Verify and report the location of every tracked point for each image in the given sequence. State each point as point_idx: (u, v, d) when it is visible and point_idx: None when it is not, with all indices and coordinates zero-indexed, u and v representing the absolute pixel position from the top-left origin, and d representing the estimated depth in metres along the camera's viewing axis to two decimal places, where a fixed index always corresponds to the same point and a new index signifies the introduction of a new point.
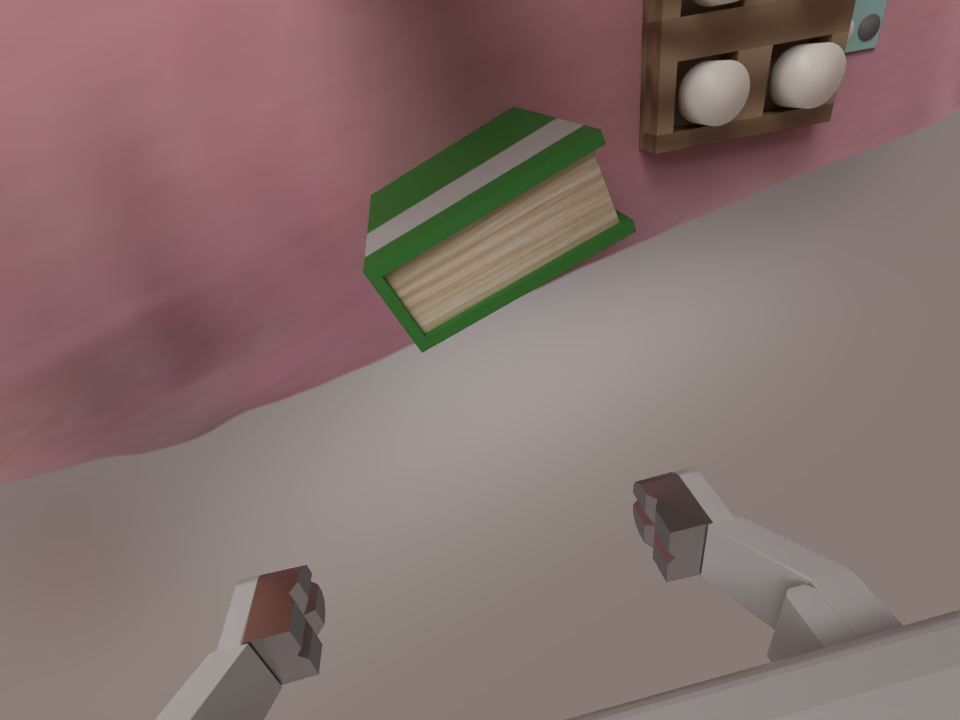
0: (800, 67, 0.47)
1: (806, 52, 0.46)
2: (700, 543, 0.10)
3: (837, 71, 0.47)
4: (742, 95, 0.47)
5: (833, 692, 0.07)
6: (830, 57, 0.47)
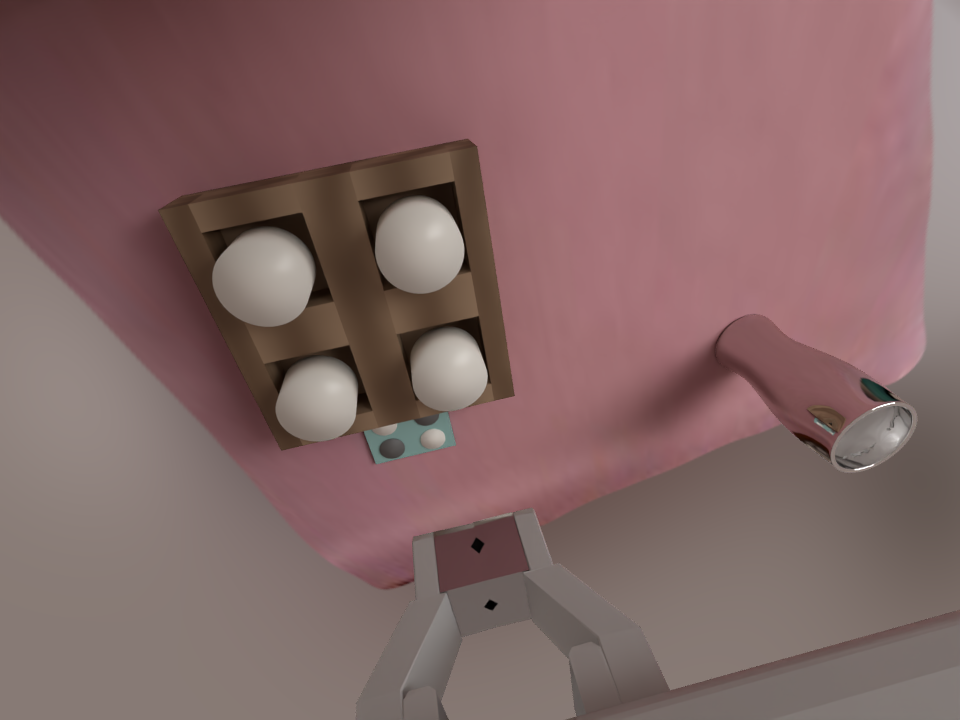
0: (321, 384, 0.34)
1: (339, 385, 0.34)
2: (521, 590, 0.10)
3: (327, 431, 0.36)
4: (268, 317, 0.31)
5: (833, 692, 0.07)
6: (340, 416, 0.36)
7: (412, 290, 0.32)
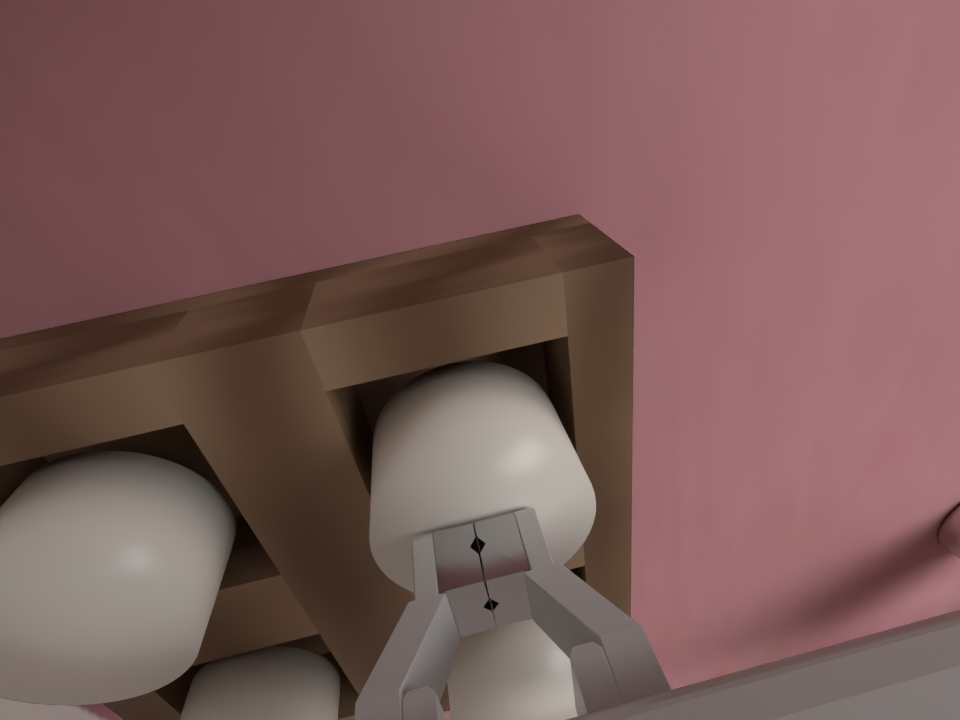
0: None
1: None
2: (522, 589, 0.10)
3: None
4: (100, 690, 0.12)
5: (833, 692, 0.07)
6: None
7: None
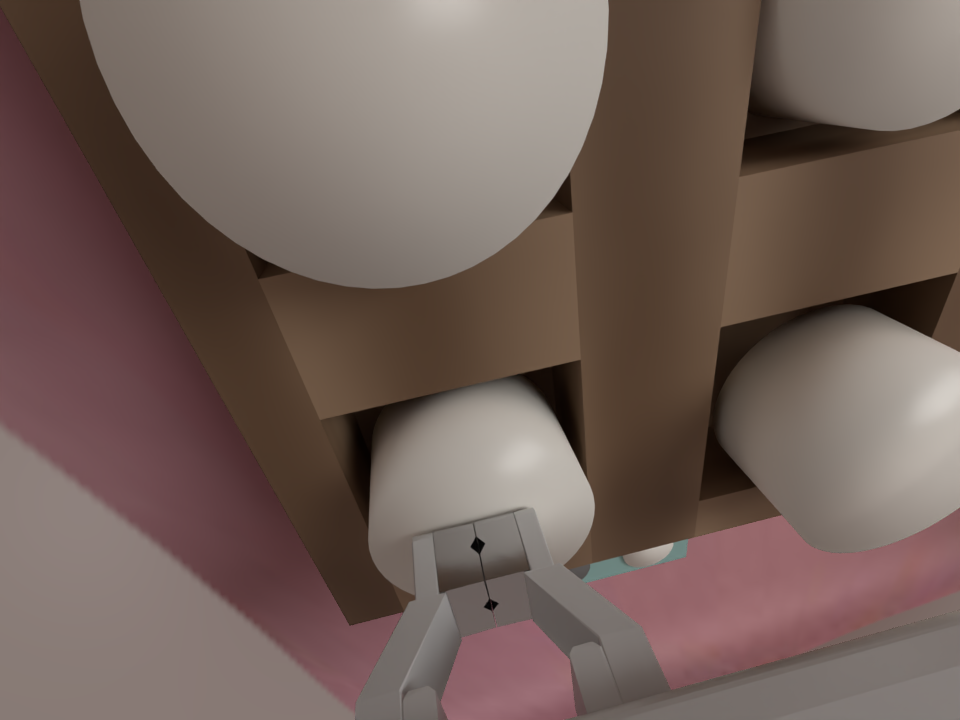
0: (516, 458, 0.11)
1: (567, 458, 0.11)
2: (522, 590, 0.10)
3: None
4: (380, 245, 0.07)
5: (833, 692, 0.07)
6: (546, 540, 0.12)
7: (866, 116, 0.09)
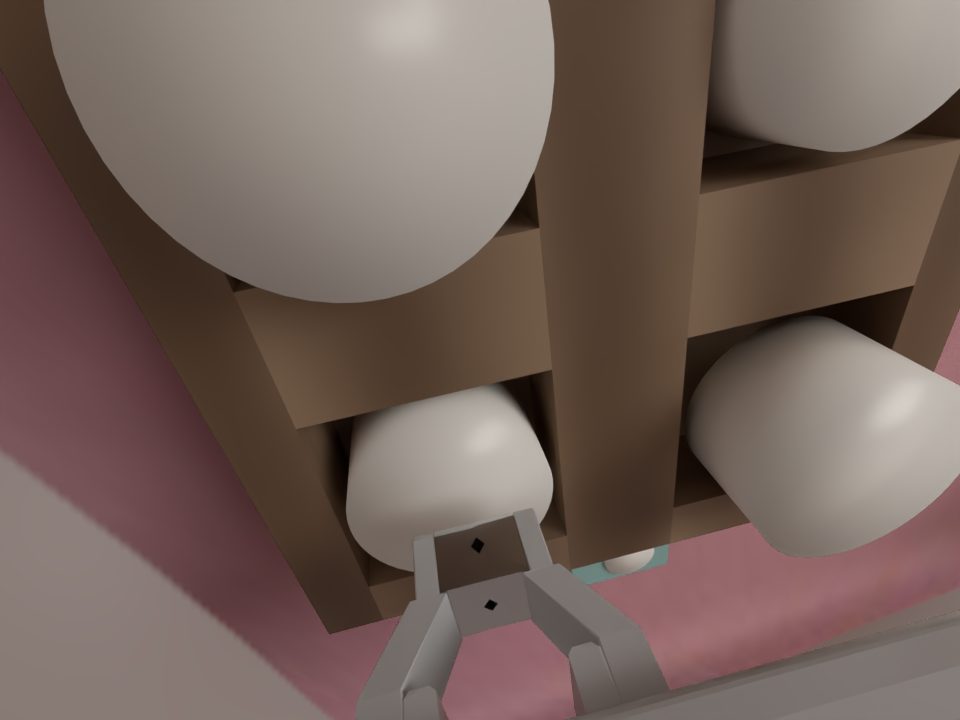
0: (479, 434, 0.12)
1: (525, 435, 0.12)
2: (521, 590, 0.10)
3: None
4: (344, 261, 0.07)
5: (833, 692, 0.07)
6: None
7: (816, 138, 0.10)
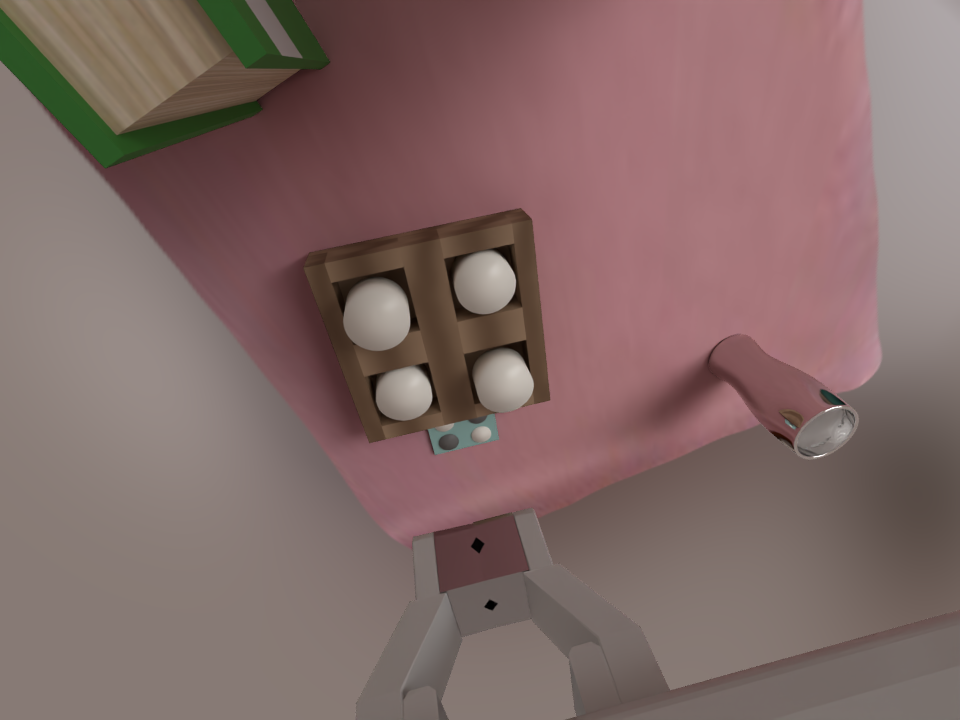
0: (409, 378, 0.47)
1: (422, 379, 0.48)
2: (521, 590, 0.10)
3: (410, 413, 0.50)
4: (378, 344, 0.42)
5: (833, 692, 0.07)
6: (420, 401, 0.49)
7: (478, 312, 0.45)
